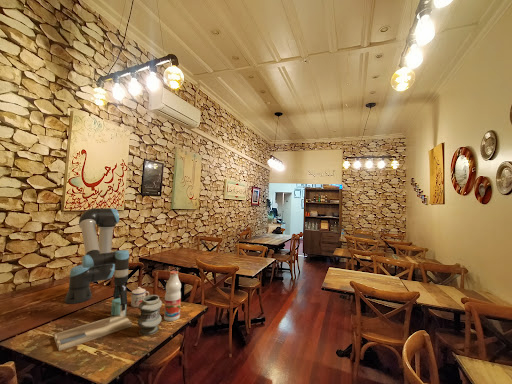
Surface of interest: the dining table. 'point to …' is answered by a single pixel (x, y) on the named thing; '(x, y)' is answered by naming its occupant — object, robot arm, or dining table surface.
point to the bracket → (116, 307)
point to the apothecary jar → (149, 315)
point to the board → (90, 331)
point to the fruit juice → (172, 298)
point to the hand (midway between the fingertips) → (119, 312)
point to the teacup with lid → (138, 296)
